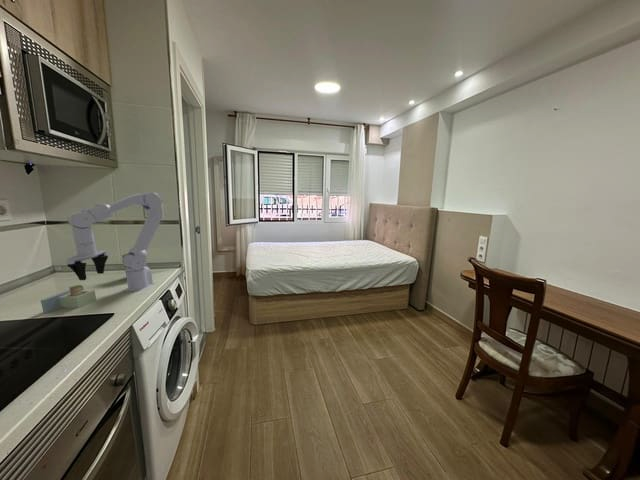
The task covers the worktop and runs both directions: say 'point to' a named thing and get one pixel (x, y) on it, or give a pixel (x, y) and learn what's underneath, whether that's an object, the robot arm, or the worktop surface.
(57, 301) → the backstop wall
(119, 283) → the worktop surface
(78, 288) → the dowel
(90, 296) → the socket block
